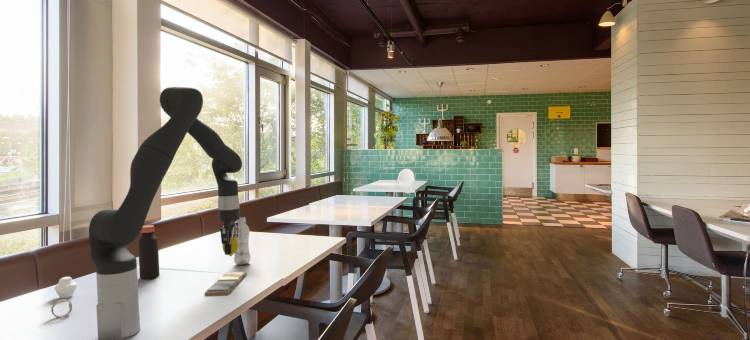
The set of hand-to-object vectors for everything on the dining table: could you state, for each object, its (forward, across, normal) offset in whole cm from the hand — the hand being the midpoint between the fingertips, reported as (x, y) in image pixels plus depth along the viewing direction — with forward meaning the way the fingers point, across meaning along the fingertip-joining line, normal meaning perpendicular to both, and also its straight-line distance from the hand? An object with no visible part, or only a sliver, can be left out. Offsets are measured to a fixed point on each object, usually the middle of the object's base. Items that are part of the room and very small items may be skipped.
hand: (230, 252), depth 156 cm
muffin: (+11, -12, +52) cm, 55 cm away
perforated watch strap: (+11, -30, +41) cm, 52 cm away
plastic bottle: (+11, +22, +2) cm, 24 cm away
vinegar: (+11, +8, +34) cm, 36 cm away
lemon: (+2, 0, 0) cm, 2 cm away
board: (+10, -5, 0) cm, 12 cm away
